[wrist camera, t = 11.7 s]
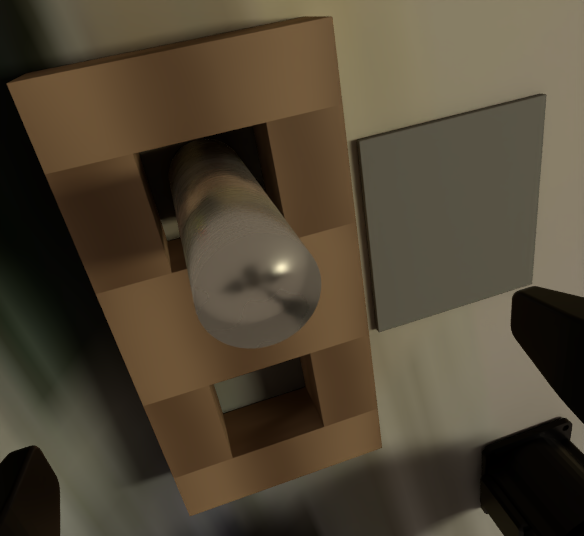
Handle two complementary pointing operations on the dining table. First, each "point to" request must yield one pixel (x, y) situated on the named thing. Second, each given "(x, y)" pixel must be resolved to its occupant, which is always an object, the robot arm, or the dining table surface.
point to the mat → (452, 209)
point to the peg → (239, 250)
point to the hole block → (170, 257)
